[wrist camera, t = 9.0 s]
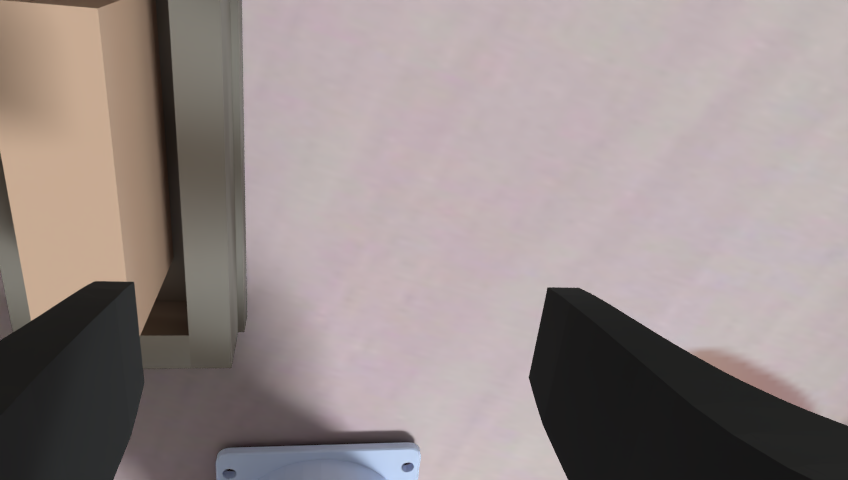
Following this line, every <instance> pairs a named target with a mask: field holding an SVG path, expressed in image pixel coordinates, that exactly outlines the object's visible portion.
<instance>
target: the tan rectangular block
mask: <svg viewBox="0 0 848 480" xmlns="http://www.w3.org/2000/svg"><path fill="white" fill-rule="evenodd" d="M0 153H1V159H2V164H3V169H4V175H5V180H6V186H7V191H8V197H9V202H10V208H11V213H12V219H13V224H14V230H15V235H16V241H17V246H18V252H19V257H20V263H21V268H22V274H23V279H24V285H25V290H26V295H27V301H28V306H29V312H30V317H31V321H32V320H33V319H35V318H37V317H38V316H40V315H41V314H43V313H44V312H46V311H47V310H49V309H50V308H52V307H53V306H55V305H57V304H58V303H60V302H61V301H63V300H64V299H66V298H67V297H69V296H70V295H72V294H73V293H75V292H77V291H78V290H80V289H82V288H83V287H85V286H87V285H88V284H90V283H92V282H94V281H121V282H134V285H135V295H136V305H137V315H138V325H139V335H141V332H142V330H143V328H144V326H145V323H146V321H147V319H148V316H149V314H150V312H151V309H152V307H153V305H154V302H155V300H156V298H157V295H158V293H159V291H160V288H161V286H162V284H163V281H164V279H165V277H166V274H167V272H168V270H169V267H170V265H171V263H172V260H173V258H174V257H173V243H172V228H171V214H170V200H169V186H168V171H167V157H166V143H165V128H164V114H163V100H162V85H161V71H160V57H159V42H158V28H157V14H156V0H0Z"/></svg>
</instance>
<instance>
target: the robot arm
mask: <svg viewBox="0 0 848 480" xmlns="http://www.w3.org/2000/svg"><path fill="white" fill-rule="evenodd" d="M529 380H530V383H531V387H532V391H533V394H534V398H535V401H536V405H537V408H538V411H539V414H540V417H541V420H542V423H543V426H544V428H545V430H546V433H547V435H548V437H549V439H550V442H551V444H552V446H553V448H554V450H555V453H556V455H557V457H558V459H559V461H560V463H561V465H562V468H563V470H564V472H565V474H566V476H567V478H568V480H848V426H846V425H844V424H841V423H839V422H836V421H833V420H831V419H828V418H826V417H823V416H820V415H818V414H815V413H813V412H810V411H807V410H805V409H803V408H800V407H798V406H796V405H793V404H791V403H788V402H786V401H784V400H782V399H779V398H777V397H775V396H773V395H771V394H769V393H766V392H764V391H762V390H760V389H758V388H756V387H753V386H751V385H749V384H747V383H745V382H743V381H741V380H739V379H737V378H735V377H733V376H731V375H729V374H727V373H725V372H723V371H721V370H719V369H718V368H716V367H714V366H712V365H710V364H709V363H707V362H705V361H703V360H701V359H699V358H698V357H696V356H694V355H692V354H690V353H689V352H687V351H685V350H683V349H682V348H680V347H678V346H677V345H675V344H673V343H672V342H670V341H668V340H667V339H665V338H663V337H662V336H660V335H658V334H657V333H655V332H653V331H652V330H650V329H648V328H647V327H645V326H644V325H642V324H640V323H639V322H637V321H636V320H634V319H632V318H631V317H629V316H627V315H626V314H624V313H623V312H621V311H619V310H618V309H616V308H615V307H613V306H611V305H610V304H608V303H606V302H605V301H603V300H601V299H599V298H598V297H596V296H594V295H592V294H590V293H588V292H586V291H584V290H582V289H580V288H547V293H546V298H545V303H544V308H543V312H542V317H541V322H540V327H539V332H538V336H537V341H536V346H535V351H534V356H533V360H532V365H531V370H530V375H529ZM143 386H144V375H143V365H142V355H141V345H140V335H139V325H138V315H137V305H136V295H135V285H134V282H121V281H94V282H92V283H90V284H88V285H87V286H85V287H83V288H82V289H80V290H78V291H77V292H75V293H73V294H72V295H70V296H69V297H67V298H66V299H64V300H63V301H61V302H60V303H58V304H57V305H55V306H53V307H52V308H50V309H49V310H47V311H46V312H44V313H43V314H41V315H40V316H38V317H37V318H35V319H33V320H32V321H30V322H29V323H27V324H26V325H24V326H23V327H21V328H19V329H18V330H16V331H15V332H13V333H12V334H10V335H8V336H7V337H5V338H4V339H2V340H0V480H113V479H114V476H115V474H116V471H117V469H118V466H119V464H120V462H121V459H122V457H123V454H124V452H125V449H126V447H127V444H128V441H129V439H130V436H131V433H132V429H133V426H134V422H135V418H136V414H137V411H138V407H139V402H140V398H141V394H142V390H143ZM420 459H421V455H420V449H419V447H418V445H416V444H414V443H410V442H402V443H369V444H337V445H304V446H271V447H238V448H226V449H223V450H221V451H220V452H219V453H218V455H217V459H216V480H418V474H419V466H420ZM407 462H409V463H410V464H408V465H403V464H404V463H407ZM226 469H233V470H234V471H226Z"/></svg>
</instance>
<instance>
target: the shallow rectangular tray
mask: <svg viewBox="0 0 848 480" xmlns="http://www.w3.org/2000/svg"><path fill="white" fill-rule="evenodd" d="M156 14H157V28H158V42H159V57H160V71H161V85H162V100H163V114H164V128H165V143H166V157H167V171H168V186H169V200H170V214H171V228H172V243H173V257H174V258H173V260H172V263H171V265H170V267H169V270H168V272H167V274H166V277H165V279H164V281H163V284H162V286H161V288H160V291H159V293H158V295H157V298H156V300H155V302H154V305H153V307H152V309H151V312H150V314H149V316H148V319H147V321H146V323H145V326H144V328H143V330H142V332H141V335H140V345H141V355H142V365H143V369H165V368H231V367H232V362H233V356H234V351H235V346H236V340H237V335H238V332H244V330H245V325H246V319H247V290H246V230H245V171H244V111H243V51H242V0H156ZM0 270H1V275H2V280H3V285H4V291H5V296H6V301H7V306H8V311H9V316H10V321H11V326H12V331H13V332H15V331H16V330H18V329H19V328H21V327H23V326H24V325H26V324H27V323H29V322H30V321H31V317H30V312H29V306H28V301H27V295H26V290H25V285H24V279H23V274H22V268H21V263H20V257H19V252H18V246H17V241H16V235H15V230H14V224H13V219H12V213H11V208H10V202H9V197H8V191H7V186H6V180H5V175H4V169H3V164H2V159H1V153H0Z"/></svg>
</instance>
